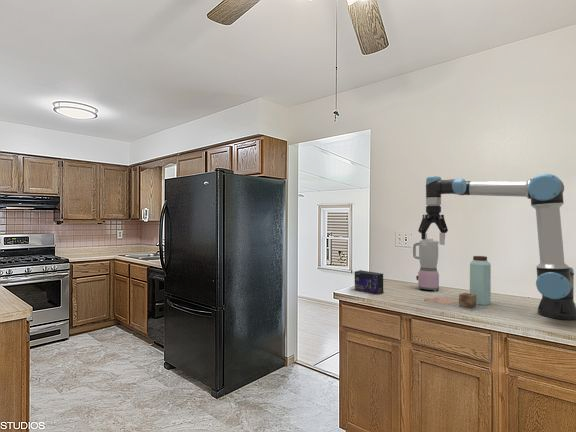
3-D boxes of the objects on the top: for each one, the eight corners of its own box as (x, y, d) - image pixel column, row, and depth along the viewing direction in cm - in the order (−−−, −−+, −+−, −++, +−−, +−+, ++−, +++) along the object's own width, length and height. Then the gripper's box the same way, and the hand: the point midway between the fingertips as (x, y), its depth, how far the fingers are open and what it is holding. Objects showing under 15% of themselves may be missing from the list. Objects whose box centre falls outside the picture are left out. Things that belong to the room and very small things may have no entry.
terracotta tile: (460, 303, 188) (460, 301, 188) (444, 305, 182) (444, 304, 182) (439, 298, 200) (439, 296, 200) (423, 300, 194) (423, 299, 194)
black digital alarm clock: (354, 290, 220) (354, 271, 220) (360, 288, 225) (360, 270, 225) (377, 294, 208) (377, 274, 208) (383, 293, 212) (383, 273, 212)
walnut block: (476, 306, 178) (476, 294, 178) (471, 308, 174) (471, 296, 174) (463, 304, 182) (463, 292, 182) (459, 306, 178) (459, 294, 178)
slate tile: (488, 309, 175) (488, 307, 175) (471, 312, 169) (471, 311, 169) (464, 303, 187) (464, 302, 187) (447, 306, 180) (447, 305, 180)
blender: (441, 289, 224) (441, 238, 224) (436, 292, 214) (436, 239, 214) (415, 286, 233) (416, 237, 233) (410, 289, 223) (410, 238, 224)
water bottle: (494, 307, 180) (494, 257, 180) (472, 306, 182) (472, 257, 182) (487, 302, 190) (487, 255, 190) (466, 301, 192) (467, 255, 192)
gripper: (443, 206, 200) (443, 243, 199) (411, 205, 188) (411, 245, 188) (455, 205, 193) (455, 244, 193) (422, 204, 181) (422, 246, 181)
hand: (433, 245), depth 190 cm, fingers open, 13 cm apart
